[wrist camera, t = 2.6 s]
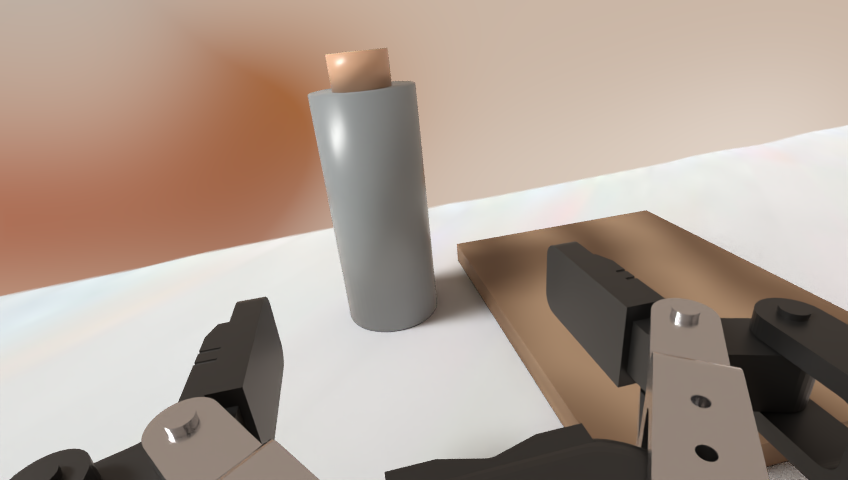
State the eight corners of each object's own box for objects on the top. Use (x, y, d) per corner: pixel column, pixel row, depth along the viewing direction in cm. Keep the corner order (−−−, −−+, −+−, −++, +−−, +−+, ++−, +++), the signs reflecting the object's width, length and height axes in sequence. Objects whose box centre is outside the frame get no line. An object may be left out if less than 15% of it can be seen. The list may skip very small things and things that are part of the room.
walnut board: (644, 225, 32) (646, 210, 31) (973, 407, 16) (988, 381, 15) (458, 260, 30) (457, 244, 29) (616, 509, 14) (619, 483, 13)
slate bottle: (426, 277, 28) (402, 45, 23) (446, 320, 24) (421, 44, 18) (348, 292, 27) (302, 56, 22) (353, 339, 23) (296, 58, 17)
